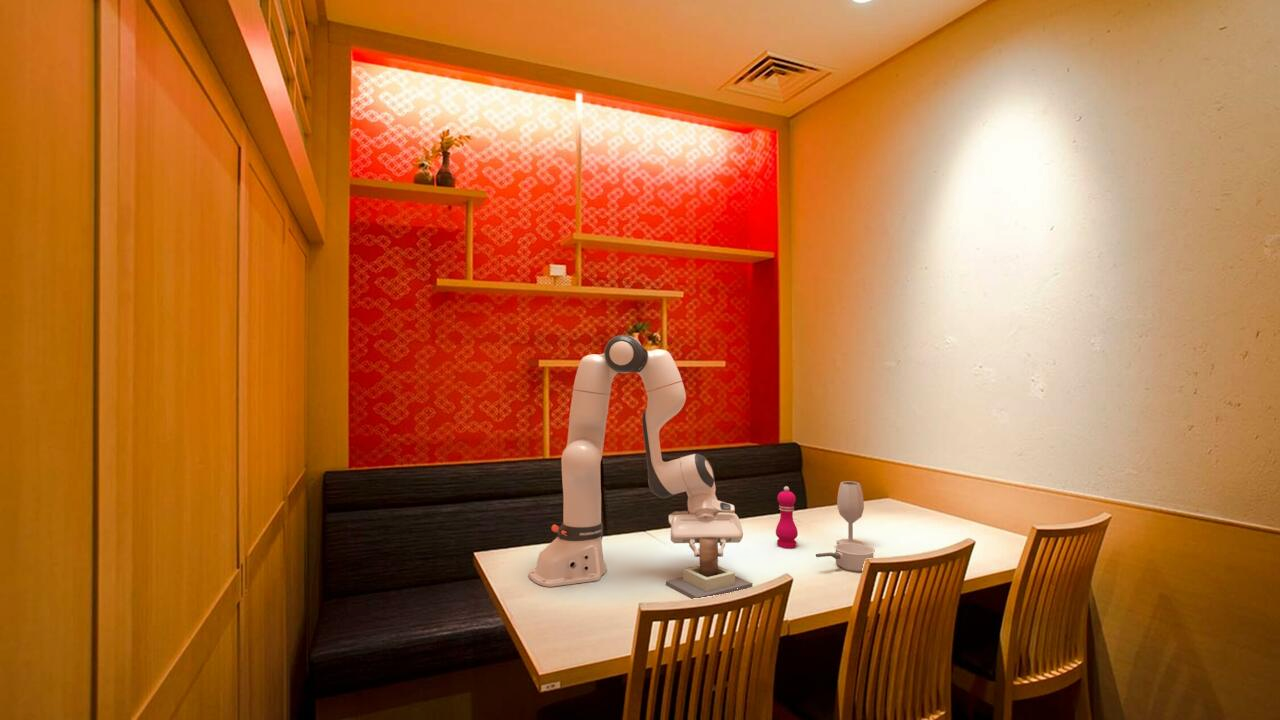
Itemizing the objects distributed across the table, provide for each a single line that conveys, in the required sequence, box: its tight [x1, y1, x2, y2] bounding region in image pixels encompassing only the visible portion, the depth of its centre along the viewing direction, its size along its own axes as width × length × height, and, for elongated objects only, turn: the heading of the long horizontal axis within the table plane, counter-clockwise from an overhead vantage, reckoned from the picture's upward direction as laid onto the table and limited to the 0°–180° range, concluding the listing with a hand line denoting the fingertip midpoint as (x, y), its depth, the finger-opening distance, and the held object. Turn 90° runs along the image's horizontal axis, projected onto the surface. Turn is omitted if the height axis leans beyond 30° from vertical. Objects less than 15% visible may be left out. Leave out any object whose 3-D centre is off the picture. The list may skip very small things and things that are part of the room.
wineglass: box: [836, 481, 866, 546], centre depth 201 cm, size 9×9×21 cm
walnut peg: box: [699, 538, 719, 577], centre depth 162 cm, size 5×5×10 cm
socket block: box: [665, 565, 753, 600], centre depth 162 cm, size 19×14×4 cm
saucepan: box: [815, 543, 875, 573], centre depth 177 cm, size 12×20×6 cm, turn 114°
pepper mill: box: [775, 485, 799, 549], centre depth 200 cm, size 7×7×20 cm
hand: (709, 555), depth 162 cm, fingers closed on walnut peg, 5 cm apart
